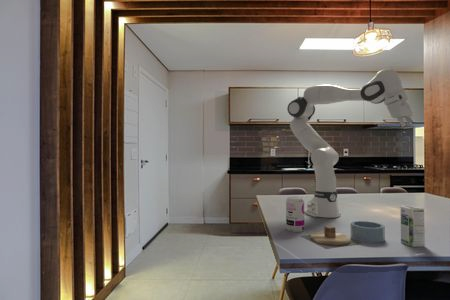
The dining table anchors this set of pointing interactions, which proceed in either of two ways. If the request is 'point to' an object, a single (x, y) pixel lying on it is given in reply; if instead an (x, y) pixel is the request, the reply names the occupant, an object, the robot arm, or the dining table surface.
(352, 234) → the slate bowl
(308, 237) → the charcoal mat
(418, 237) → the syrup box
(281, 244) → the dining table surface
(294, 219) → the supplement can
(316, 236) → the birch lid
